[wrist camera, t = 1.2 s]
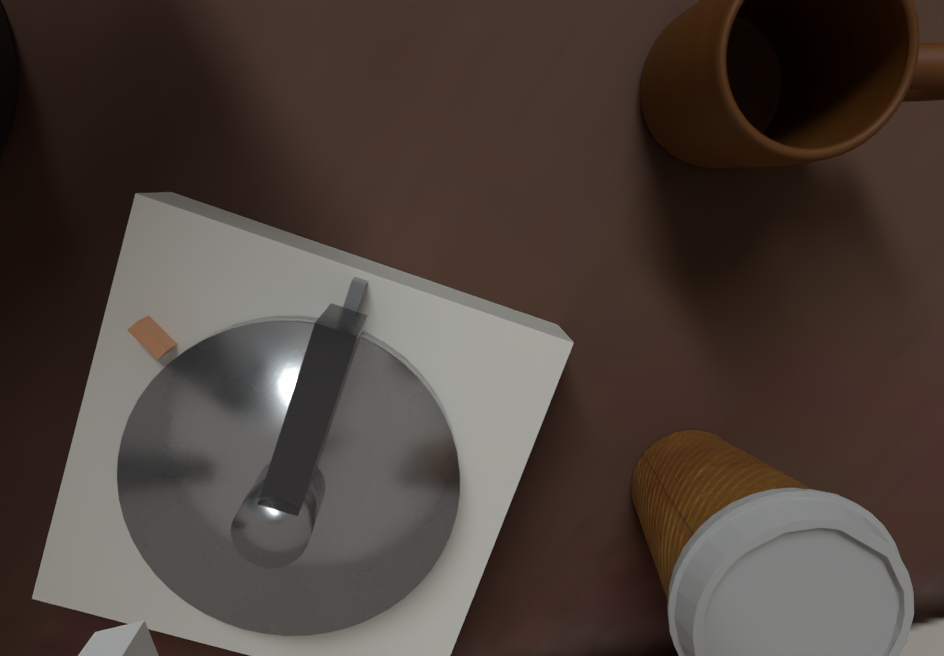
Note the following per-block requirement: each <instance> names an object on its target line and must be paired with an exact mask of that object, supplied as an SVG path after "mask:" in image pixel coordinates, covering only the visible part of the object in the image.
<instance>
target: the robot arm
mask: <svg viewBox="0 0 944 656" xmlns="http://www.w3.org/2000/svg"><path fill="white" fill-rule="evenodd" d="M16 95H17V65H16V57H15V50H14V45H13V40H12V36H11V32H10V29H9V25H8V22H7V19H6V16H5V13H4V11H3V8H2V6H1V4H0V152H1V150H2V148H3V146H4V143H5V141H6V139H7V136H8V133H9V130H10V127H11V124H12V120H13V116H14V110H15V105H16ZM78 656H158V653H157V651H156V648H155V646H154V643H153V640H152V638H151V635H150V633H149V630H148V628H147V625H146V623H145V620H143V621H139V622H135V623H131V624H127V625H123V626H119V627H114V628H110V629H106V630H102V631H98V632H95V633H94V634H93V636H92V637H91V638H90V640H89V641H88V642H87V644H86V645H85V647H84V648H83V649H82V651H81V652H80V654H79V655H78Z"/></svg>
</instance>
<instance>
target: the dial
mask: <svg viewBox="0 0 944 656" xmlns="http://www.w3.org/2000/svg"><path fill="white" fill-rule="evenodd" d="M367 316H368V315H365V314H362V313H359V312H356V311H353V310H350V309H347V308H344V307H341V306H338V305H335V304H332V303H331V304H330V305H329V306H328V308H327V309H326V310H325V311H324V312H323V314H322V315H321V316H320V317H319V318H315V317H308V316H273V317H265V318H257V319H253V320H250V321H246V322H242V323H238V324H235V325H232V326H230V327H227V328H225V329H222V330H220V331H217V332H215V333H213V334H211V335H210V336H208V337H206V338H204V339H203V340H201V341H199V342H197V343H196V344H194V345H193V346H191V347H190V348H188V349H187V350H186V351H184V352H183V353H182V354H180V355H179V356H178V357H176V358H175V359H174V360H172V361H171V362H170V363H169V364H167V365H166V366H165V367H164V368H163V369H162V370H161V371H160V372H159V373H158V374H157V375H156V376H155V377H154V379H153V380H152V381H151V382H150V383H149V385H148V386H147V387H146V389H145V390H144V392H143V393H142V394H141V396H140V397H139V398H138V400H137V402H136V404H135V406H134V408H133V410H132V412H131V414H130V416H129V418H128V420H127V423H126V426H125V429H124V432H123V435H122V438H121V443H120V448H119V454H118V462H117V486H118V495H119V502H120V506H121V510H122V514H123V518H124V521H125V524H126V526H127V529H128V531H129V533H130V536H131V538H132V540H133V542H134V544H135V546H136V547H137V549H138V551H139V553H140V554H141V556H142V558H143V559H144V560H145V562H146V563H147V564H148V566H149V567H150V568H151V570H152V571H153V572H154V574H155V575H156V576H157V577H158V578H159V579H160V580H161V581H162V582H163V583H164V584H165V585H166V586H167V587H168V588H169V589H170V590H171V591H172V592H174V593H175V594H176V595H178V596H179V597H180V598H181V599H183V600H184V601H185V602H186V603H188V604H190V605H191V606H193V607H194V608H196V609H198V610H199V611H201V612H203V613H204V614H206V615H208V616H210V617H213V618H215V619H217V620H219V621H221V622H223V623H226V624H229V625H232V626H235V627H238V628H241V629H244V630H249V631H253V632H258V633H263V634H271V635H282V636H308V635H316V634H323V633H330V632H334V631H337V630H341V629H345V628H349V627H352V626H354V625H357V624H360V623H362V622H365V621H367V620H370V619H372V618H373V617H375V616H377V615H379V614H381V613H383V612H385V611H386V610H388V609H390V608H391V607H392V606H394V605H395V604H397V603H398V602H399V601H401V600H402V599H404V598H405V597H406V596H407V595H408V594H409V593H410V592H411V591H412V590H414V589H415V588H416V587H417V586H418V585H419V584H420V583H421V582H422V580H423V579H424V578H425V577H426V576H427V574H428V573H429V572H430V571H431V570H432V568H433V567H434V565H435V564H436V562H437V560H438V559H439V557H440V556H441V554H442V553H443V550H444V548H445V546H446V544H447V542H448V540H449V537H450V535H451V532H452V529H453V526H454V522H455V519H456V516H457V510H458V504H459V497H460V470H459V460H458V453H457V445H456V440H455V437H454V433H453V429H452V426H451V423H450V420H449V418H448V416H447V413H446V411H445V409H444V406H443V404H442V403H441V401H440V399H439V398H438V396H437V394H436V393H435V391H434V389H433V388H432V386H431V385H430V384H429V383H428V381H427V380H426V379H425V378H424V376H423V375H422V374H421V373H420V371H419V370H418V369H417V368H415V367H414V366H413V365H412V364H411V363H410V362H409V361H408V360H407V359H406V358H405V357H404V356H403V355H401V354H400V353H399V352H397V351H396V350H395V349H393V348H392V347H390V346H389V345H388V344H386V343H385V342H383V341H381V340H379V339H377V338H376V337H374V336H372V335H370V334H368V333H367V332H364V331H363V328H364V325H365V322H366V319H367Z"/></svg>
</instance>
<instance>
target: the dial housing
mask: <svg viewBox="0 0 944 656" xmlns="http://www.w3.org/2000/svg"><path fill="white" fill-rule="evenodd" d="M331 303H332V304H335V305H338V306H341V307H344V308H347V309H350V310H353V311H356V312H359V313H362V314H365V315H368V316H367V319H366V322H365V325H364V328H363V331H364V332H367V333H368V334H370V335H372V336H374V337H376V338H377V339H379V340H381V341H383V342H385V343H386V344H388V345H389V346H390V347H392V348H393V349H395V350H396V351H397V352H399V353H400V354H401V355H403V356H404V357H405V358H406V359H407V360H408V361H409V362H410V363H411V364H412V365H413V366H414V367H415V368H417V369H418V370H419V371H420V373H421V374H422V375H423V376H424V378H425V379H426V380H427V381H428V383H429V384H430V385H431V386H432V388H433V389H434V391H435V393H436V394H437V396H438V398H439V399H440V401H441V403H442V404H443V406H444V409H445V411H446V413H447V416H448V418H449V420H450V423H451V426H452V429H453V433H454V437H455V440H456V445H457V453H458V460H459V470H460V497H459V504H458V510H457V516H456V519H455V522H454V526H453V529H452V532H451V535H450V537H449V540H448V542H447V544H446V546H445V548H444V550H443V553H442V554H441V556H440V557H439V559H438V560H437V562H436V564H435V565H434V567H433V568H432V570H431V571H430V572H429V573H428V574H427V576H426V577H425V578H424V579H423V580H422V582H421V583H420V584H419V585H418V586H417V587H416V588H415V589H414V590H412V591H411V592H410V593H409V594H408V595H407V596H406V597H405V598H404V599H402V600H401V601H399V602H398V603H397V604H395V605H394V606H392V607H391V608H390V609H388V610H386V611H385V612H383V613H381V614H379V615H377V616H375V617H373V618H372V619H370V620H367V621H365V622H362V623H360V624H357V625H354V626H352V627H349V628H345V629H341V630H337V631H334V632H330V633H323V634H316V635H308V636H282V635H271V634H263V633H258V632H253V631H249V630H244V629H241V628H238V627H235V626H232V625H229V624H226V623H223V622H221V621H219V620H217V619H215V618H213V617H210V616H208V615H206V614H204V613H203V612H201V611H199V610H198V609H196V608H194V607H193V606H191V605H190V604H188V603H186V602H185V601H184V600H183V599H181V598H180V597H179V596H178V595H176V594H175V593H174V592H172V591H171V590H170V589H169V588H168V587H167V586H166V585H165V584H164V583H163V582H162V581H161V580H160V579H159V578H158V577H157V576H156V575H155V574H154V572H153V571H152V570H151V568H150V567H149V566H148V564H147V563H146V562H145V560H144V559H143V558H142V556H141V554H140V553H139V551H138V549H137V547H136V546H135V544H134V542H133V540H132V538H131V536H130V533H129V531H128V529H127V526H126V524H125V521H124V518H123V514H122V510H121V506H120V502H119V495H118V486H117V462H118V454H119V448H120V443H121V438H122V435H123V432H124V429H125V426H126V423H127V420H128V418H129V416H130V414H131V412H132V410H133V408H134V406H135V404H136V402H137V400H138V398H139V397H140V396H141V394H142V393H143V392H144V390H145V389H146V387H147V386H148V385H149V383H150V382H151V381H152V380H153V379H154V377H155V376H156V375H157V374H158V373H159V372H160V371H161V370H162V369H163V368H164V367H165V366H166V365H167V364H169V363H170V362H171V361H172V360H174V359H175V358H176V357H178V356H179V355H180V354H182V353H183V352H184V351H186V350H187V349H188V348H190V347H191V346H193V345H194V344H196V343H197V342H199V341H201V340H203V339H204V338H206V337H208V336H210V335H211V334H213V333H215V332H217V331H220V330H222V329H225V328H227V327H230V326H232V325H235V324H238V323H242V322H246V321H250V320H253V319H257V318H265V317H273V316H308V317H315V318H319V317H320V316H321V315H322V314H323V312H324V311H325V310H326V309H327V308H328V306H329V305H330V304H331ZM572 346H573V341H572V340H571V339H570V338H569V337H568V336H567V335H566V333H565V332H564V331H563V330H562V329H561V328H560V327H559V326H558V325H557V324H554V323H551V322H548V321H545V320H543V319H540V318H537V317H534V316H531V315H528V314H525V313H522V312H519V311H516V310H513V309H510V308H508V307H505V306H502V305H499V304H496V303H493V302H490V301H487V300H484V299H481V298H478V297H476V296H473V295H470V294H467V293H464V292H461V291H458V290H455V289H452V288H449V287H446V286H444V285H441V284H438V283H435V282H432V281H429V280H426V279H423V278H420V277H417V276H414V275H412V274H409V273H406V272H403V271H400V270H397V269H394V268H391V267H388V266H385V265H382V264H380V263H377V262H374V261H371V260H368V259H365V258H362V257H359V256H356V255H353V254H350V253H348V252H345V251H342V250H339V249H336V248H333V247H330V246H327V245H324V244H321V243H318V242H316V241H313V240H310V239H307V238H304V237H301V236H298V235H295V234H292V233H289V232H286V231H284V230H281V229H278V228H275V227H272V226H269V225H266V224H263V223H260V222H257V221H254V220H252V219H249V218H246V217H243V216H240V215H237V214H234V213H231V212H228V211H225V210H222V209H220V208H217V207H214V206H211V205H208V204H205V203H202V202H199V201H196V200H193V199H190V198H188V197H185V196H182V195H179V194H176V193H173V192H157V193H135V197H134V201H133V205H132V209H131V213H130V217H129V220H128V224H127V228H126V232H125V236H124V240H123V244H122V248H121V252H120V256H119V260H118V264H117V267H116V271H115V275H114V279H113V283H112V287H111V291H110V295H109V299H108V303H107V307H106V310H105V314H104V318H103V322H102V326H101V330H100V334H99V338H98V342H97V346H96V350H95V354H94V357H93V361H92V365H91V369H90V373H89V377H88V381H87V385H86V389H85V393H84V397H83V400H82V404H81V408H80V412H79V416H78V420H77V424H76V428H75V432H74V436H73V440H72V443H71V447H70V451H69V455H68V459H67V463H66V467H65V471H64V475H63V479H62V483H61V487H60V490H59V494H58V498H57V502H56V506H55V510H54V514H53V518H52V522H51V526H50V530H49V533H48V537H47V541H46V545H45V549H44V553H43V557H42V561H41V565H40V569H39V573H38V577H37V580H36V584H35V588H34V592H33V596H32V599H35V600H39V601H43V602H47V603H50V604H54V605H58V606H62V607H66V608H70V609H73V610H77V611H81V612H85V613H89V614H93V615H96V616H100V617H104V618H108V619H112V620H116V621H119V622H123V623H127V624H131V623H135V622H139V621H143V620H145V623H146V625H147V628H148V629H150V630H154V631H158V632H162V633H165V634H169V635H173V636H177V637H181V638H185V639H188V640H192V641H196V642H200V643H204V644H207V645H211V646H215V647H219V648H223V649H227V650H230V651H234V652H238V653H242V654H246V655H250V656H450V655H451V653H452V650H453V648H454V645H455V643H456V640H457V638H458V635H459V633H460V630H461V627H462V625H463V622H464V620H465V617H466V615H467V612H468V610H469V607H470V605H471V602H472V600H473V597H474V595H475V592H476V589H477V587H478V584H479V582H480V579H481V577H482V574H483V572H484V569H485V567H486V564H487V562H488V559H489V556H490V554H491V551H492V549H493V546H494V544H495V541H496V539H497V536H498V534H499V531H500V529H501V526H502V524H503V521H504V518H505V516H506V513H507V511H508V508H509V506H510V503H511V501H512V498H513V496H514V493H515V491H516V488H517V485H518V483H519V480H520V478H521V475H522V473H523V470H524V468H525V465H526V463H527V460H528V458H529V455H530V453H531V450H532V447H533V445H534V442H535V440H536V437H537V435H538V432H539V430H540V427H541V425H542V422H543V420H544V417H545V414H546V412H547V409H548V407H549V404H550V402H551V399H552V397H553V394H554V392H555V389H556V387H557V384H558V382H559V379H560V376H561V374H562V371H563V369H564V366H565V364H566V361H567V359H568V356H569V354H570V351H571V349H572Z"/></svg>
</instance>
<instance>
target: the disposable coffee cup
mask: <svg viewBox="0 0 944 656" xmlns="http://www.w3.org/2000/svg"><path fill="white" fill-rule="evenodd" d="M631 496H632V501H633V504H634V507H635V509H636V512H637V515H638V517H639V521H640V523H641V526H642V529H643V532H644V535H645V538H646V541H647V544H648V546H649V549H650V552H651V555H652V557H653V560H654V563H655V566H656V569H657V571H658V575H659V578H660V581H661V583H662V586H663V590H664V592H665V595H666V598H667V601H668V605H667V612H668V622H669V632H670V635H671V637H672V640H673V643H674V646H675V648H676V650H677V653H678V655H679V656H899V654H900V653H901V651H902V649H903V647H904V646H905V644H906V642H907V638H908V635H909V631H910V627H911V623H912V620H913V616H914V597H913V588H912V584H911V580H910V577H909V573H908V571H907V569H906V567H905V566H904V564H903V562H902V560H901V558H900V555H899V552H898V549H897V547H896V544H895V542H894V541H893V539H892V537H891V536H890V534H889V533H888V531H887V530H886V528H885V526H884V525H883V524H882V523H880V522H879V521H878V520H877V519H876V518H875V517H874V516H873V515H872V514H871V513H870V512H868V511H867V510H865V509H864V508H862V507H861V506H859V505H858V504H856V503H854V502H852V501H850V500H848V499H846V498H844V497H841V496H839V495H837V494H833V493H828V492H822V491H817V490H812V489H811V488H809V487H808V486H805V485H803V484H802V483H801V482H799V481H796V480H795V479H793V478H791V477H789V476H787V475H786V474H784V473H782V472H780V471H778V470H777V469H775V468H773V467H771V466H770V465H768V464H766V463H764V462H763V461H761V460H759V459H757V458H756V457H754V456H752V455H750V454H748V453H746V452H744V451H743V450H741V449H739V448H737V447H736V446H734V445H732V444H730V443H729V442H727V441H725V440H723V439H722V438H720V437H719V436H717V435H714V434H712V433H709V432H705V431H699V430H685V431H680V432H675V433H672V434H670V435H668V436H666V437H663V438H661V439H660V440H658V441H657V442H655V443H654V444H653V445H652V446H650V447H649V448H648V449H647V450H646V451H645V453H644V454H643V455H642V457H641V458H640V460H639V461H638V463H637V465H636V467H635V469H634V472H633V476H632V480H631Z"/></svg>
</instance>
